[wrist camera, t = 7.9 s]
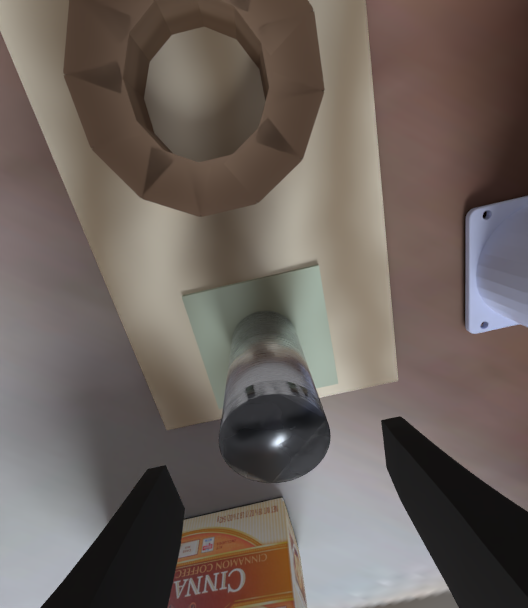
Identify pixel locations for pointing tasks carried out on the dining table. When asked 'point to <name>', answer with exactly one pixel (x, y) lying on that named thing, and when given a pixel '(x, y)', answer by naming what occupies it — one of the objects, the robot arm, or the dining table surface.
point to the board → (233, 240)
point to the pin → (271, 403)
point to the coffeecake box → (239, 560)
